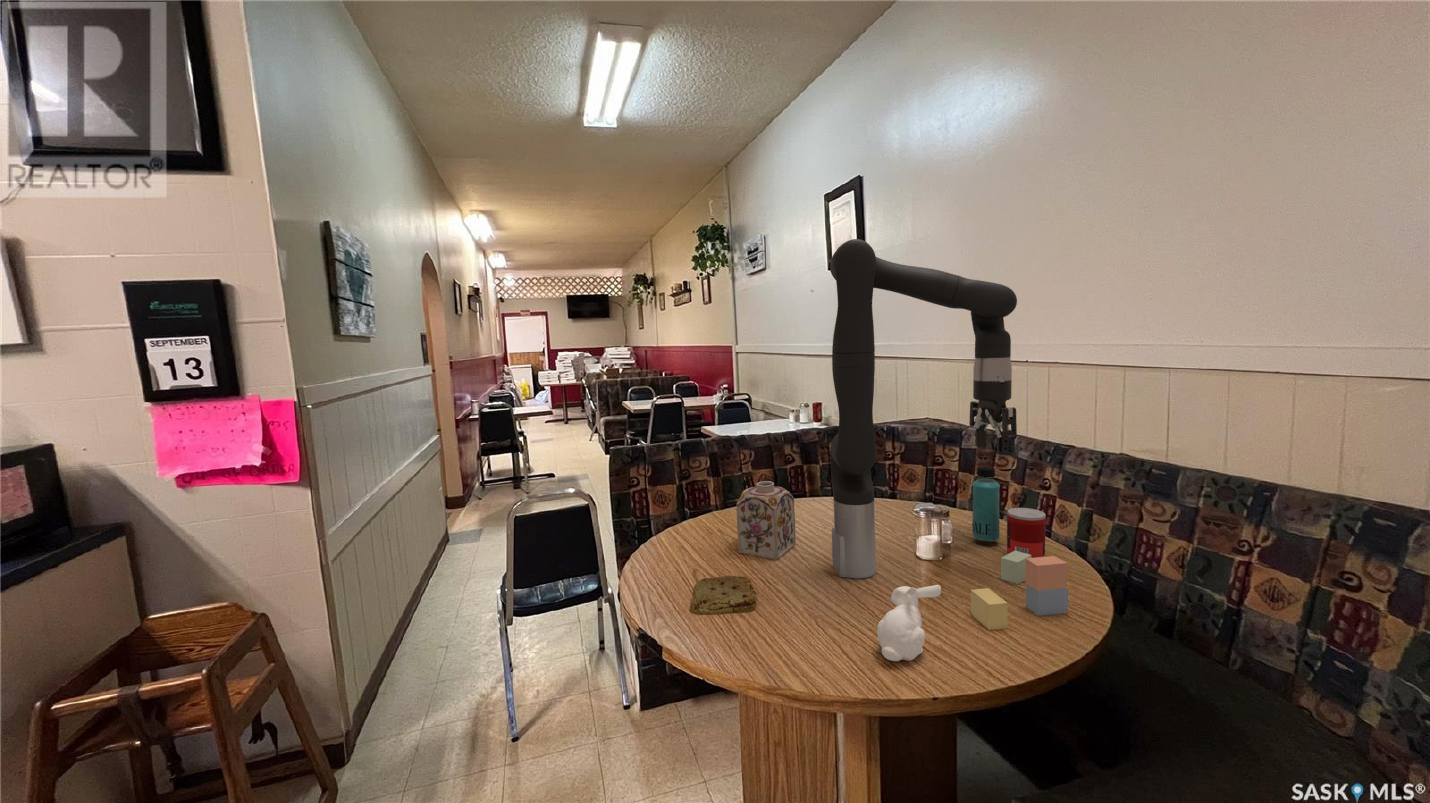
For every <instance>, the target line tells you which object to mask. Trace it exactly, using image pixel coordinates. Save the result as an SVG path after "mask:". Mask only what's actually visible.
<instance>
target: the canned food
mask: <svg viewBox="0 0 1430 803" xmlns="http://www.w3.org/2000/svg"><path fill="white" fill-rule="evenodd" d="M1006 515H1007V516H1006V552H1007V553H1006V554H1009V553H1011V552H1013V551H1019V552H1022V553H1026V554H1029V555H1031V558H1036V557H1046V530H1047V529H1046V528H1047V527H1046V526H1047V521H1046V520H1047V517H1046V513H1045V512H1044V511H1041V510H1037V509H1035V508H1029V507H1013V508H1010V509H1008V510H1007V513H1006Z"/></svg>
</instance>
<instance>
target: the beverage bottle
mask: <svg viewBox="0 0 1430 803" xmlns="http://www.w3.org/2000/svg"><path fill="white" fill-rule="evenodd" d="M976 475H977V477H982V478H977V479H976V480H974V482H973V483H972V494H971V495H972V498H971V499H972V502H971V503H972V513H971V515H972V521H971V522H972V524H971V525H972V526H971V527H972V529H971V532H972V536H973V538H975V539H976V540H979V541H982V542H996V541H999V539H1000V527H1001V525H1000V516H1001V515H1000V487H1001V485H1000V484H999V482H997V481H996V479H993V478H994V477H996V470H995V468H994V467H992V466H978V467H977V474H976ZM991 478H992V479H991Z"/></svg>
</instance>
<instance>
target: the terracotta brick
mask: <svg viewBox="0 0 1430 803" xmlns="http://www.w3.org/2000/svg"><path fill="white" fill-rule="evenodd" d="M1024 583H1025V584H1028V585H1029V586H1031V587H1032V588H1033V589H1035V590H1036V591H1041V590H1052V589H1063V588H1068V563H1067V562H1066V561H1065V560H1063V559H1060V558H1059V557H1057V556H1056V555H1050V556H1045V557H1036V558H1025V580H1024Z"/></svg>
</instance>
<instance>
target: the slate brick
mask: <svg viewBox="0 0 1430 803" xmlns="http://www.w3.org/2000/svg"><path fill="white" fill-rule="evenodd" d="M1025 584H1026V583H1025ZM1068 604H1069V587H1067V588H1063V589H1052V590H1041V591H1036V590H1035V589H1033V588H1032V587H1031V586H1029V585H1028V584H1026V586H1025V607H1026V608H1027V610H1030V611H1031V612H1033V613H1034V614H1035V615H1036V616H1038V617H1039V616H1049V615H1060V614H1068V610H1069V605H1068Z"/></svg>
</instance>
